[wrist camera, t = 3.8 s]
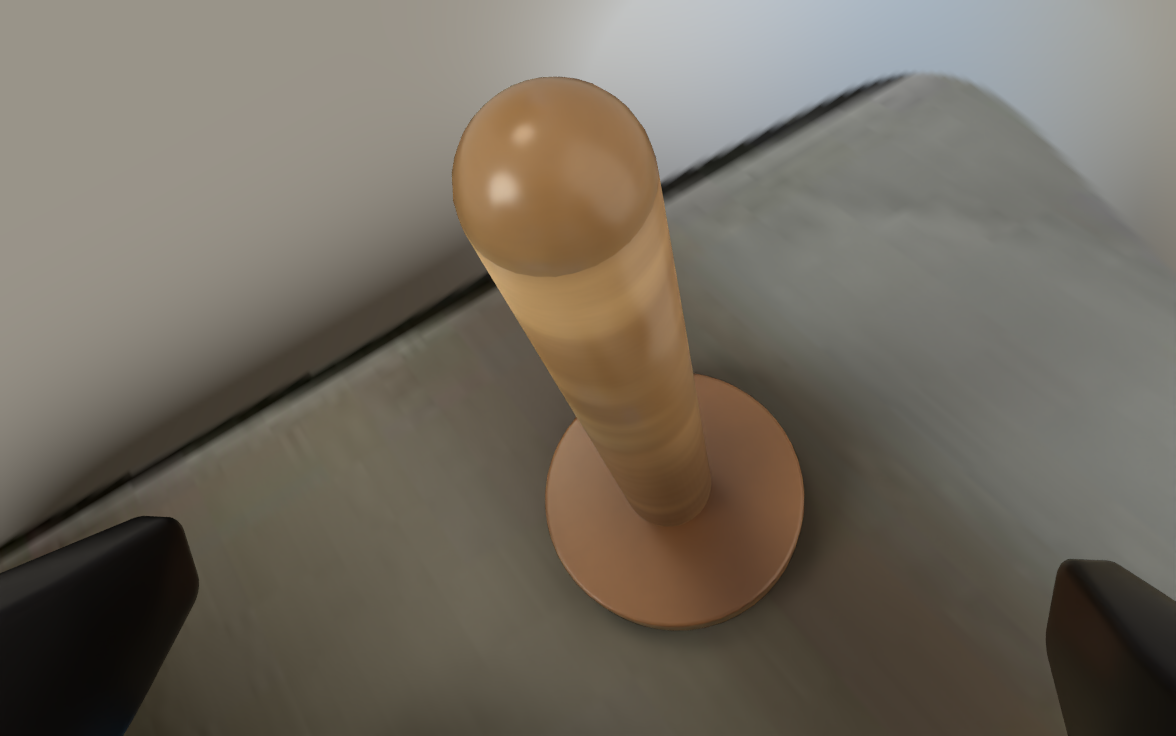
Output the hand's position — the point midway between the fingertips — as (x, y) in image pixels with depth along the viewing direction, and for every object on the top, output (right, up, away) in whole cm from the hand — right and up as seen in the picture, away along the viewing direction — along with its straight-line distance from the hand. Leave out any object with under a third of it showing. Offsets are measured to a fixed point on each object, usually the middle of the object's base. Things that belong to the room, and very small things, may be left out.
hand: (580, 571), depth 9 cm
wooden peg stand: (+2, -1, +11) cm, 11 cm away
